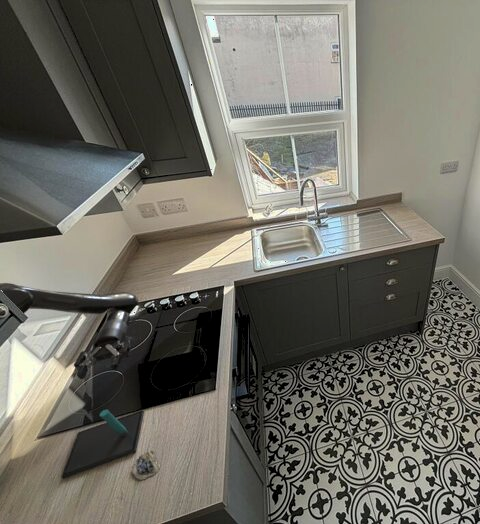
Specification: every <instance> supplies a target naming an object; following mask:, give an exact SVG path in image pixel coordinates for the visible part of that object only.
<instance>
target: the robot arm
mask: <svg viewBox="0 0 480 524" xmlns="http://www.w3.org/2000/svg"><path fill="white" fill-rule="evenodd" d="M0 290H2V291H3V293H4V294H5V295H6V296H7V297H8V298H9V299H10V300H11V301H12V302H13V303H14V304H15V305H16V306H17V307H18V308H19V309H20V310H21V311H22V312H23V313H24V314H26V313H27V312H28V311H29V310H49V311H57V312H63V313H71V314H81V315H83V314H84V315H86V314H87V315H100V314H105V313H106V312H107V313H106V318H105V321H104V322H103V324H102V326H101V327H100V329H99V331H98V333H97V336H96V338H95V340H94V344H93V348H92V349H91V351H85V350H83V351H81V352H80V353H79V355H78V356H77V358H76V359H75V362H74V363H73V367H74V368H75V369H76V370H77V372H76V376H77V377H78V379H80V380H84V379H85V378H86V376H87V374H88V371H89V369H90V368H91V367H92V366H95V365H97V364H98V363H99V362H100V361H103V360H108V359H111V358H112V361H111V363H110V368H111V369H112V371H115V370H117V369H118V368H119V367H120V365H121V362H122V360H123V359H124V358H128V357H130V355H131V350H132V346H133V344H132V343H131V341H130V339H128V338H127V339H126V336H127V333H128V328H129V325H130V323H131V322H130V321H131V314H132V312H133V311H134V310H135V308H136V307H137V306H138V304H139V300H140V299H139V298H138V296H137V295H136V294H134V293H131V292H128V291H127V292H126V291H122V292H113V293H105V294H94V293H81V292H66V291H65V292H64V291H55V290H47V289H39V288H33V287H28V286H23V285H18V284H15V283H11V282H10V283H9V282H0ZM93 358H94V359H93Z"/></svg>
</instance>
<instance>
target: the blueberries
mask: <svg viewBox="0 0 480 524" xmlns="http://www.w3.org/2000/svg"><path fill="white" fill-rule="evenodd" d="M156 459H157V457H156V454H155V452H154V451H153V450H148V451H147V452H146V453H143V454H142V453H141V454H140V455H139V456H138V458H136V460H135V463H133V464H132V465H131V471H132V474H133V476H134V477H135V478H136V479H138V480H140V481H142V480H145V479H147V478H149V477H152V476H155V475H156V474H157V473H158V472H159V469H160V468H161V463H160V462H159V460H156Z"/></svg>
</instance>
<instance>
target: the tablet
mask: <svg viewBox="0 0 480 524" xmlns="http://www.w3.org/2000/svg"><path fill="white" fill-rule="evenodd" d="M144 415H145V411H144V410H139V411H137V412H133V413H130V414H128V415H125V416H121V417H118V418H116V419H117V420H118V421H119V422H120V423H121V424H122V425H123V426H124V427H125V428H126V430H127V431H128V433H127V434H126V435H125V436H121V435H120V434H118V433H117V432H116V431H115V430H114V429H113V428H112V427H111V426H110V425H109V424H108V423H107V422H104V423H101V424H98V425H95V426H93V427H90V428H86V429H84V430H81V431H78V432H77V433H76V437H75V439H74V442H73V445H72V447H71V450H70V452H69V455H68V457H67V461H66V464H65V467H64V468H63V471H62V474H61V477H60V478H61V479H63V480H65V479H67V478H70V477H72V476H75V475H78V474H80V473H83V472H85V471H88V470H91V469H94V468H96V467H99V466H102V465H104V464H108V463H110V462H112V461H115V460H118V459H121V458H124V457H125V456H126V457H127V456H129V455H132V454H135V453H137V451H138V450H137V449H138V444H139V441H140V434H141V430H142V424H143V421H144V420H143V419H144Z"/></svg>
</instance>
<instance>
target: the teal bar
mask: <svg viewBox="0 0 480 524" xmlns="http://www.w3.org/2000/svg"><path fill="white" fill-rule="evenodd" d="M99 417H100V418H101V419H102V420H103V421H105V423H108V424H109V425H110V426H111V427H112V428H113V429H114V430H115V431H116V432H117V433H118V434H120V435H121V436H125V435H126V434H127V433H128V431H127V430H126V428H125V427H124V426H123V425H122V424H121V423H120V422H119V421H118V420H117V419H118V418H117V417H115V416H114V415H113V414H112V413H111V412H110V411H109V409H104V410H102V411H101V412H100V413H99Z"/></svg>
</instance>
